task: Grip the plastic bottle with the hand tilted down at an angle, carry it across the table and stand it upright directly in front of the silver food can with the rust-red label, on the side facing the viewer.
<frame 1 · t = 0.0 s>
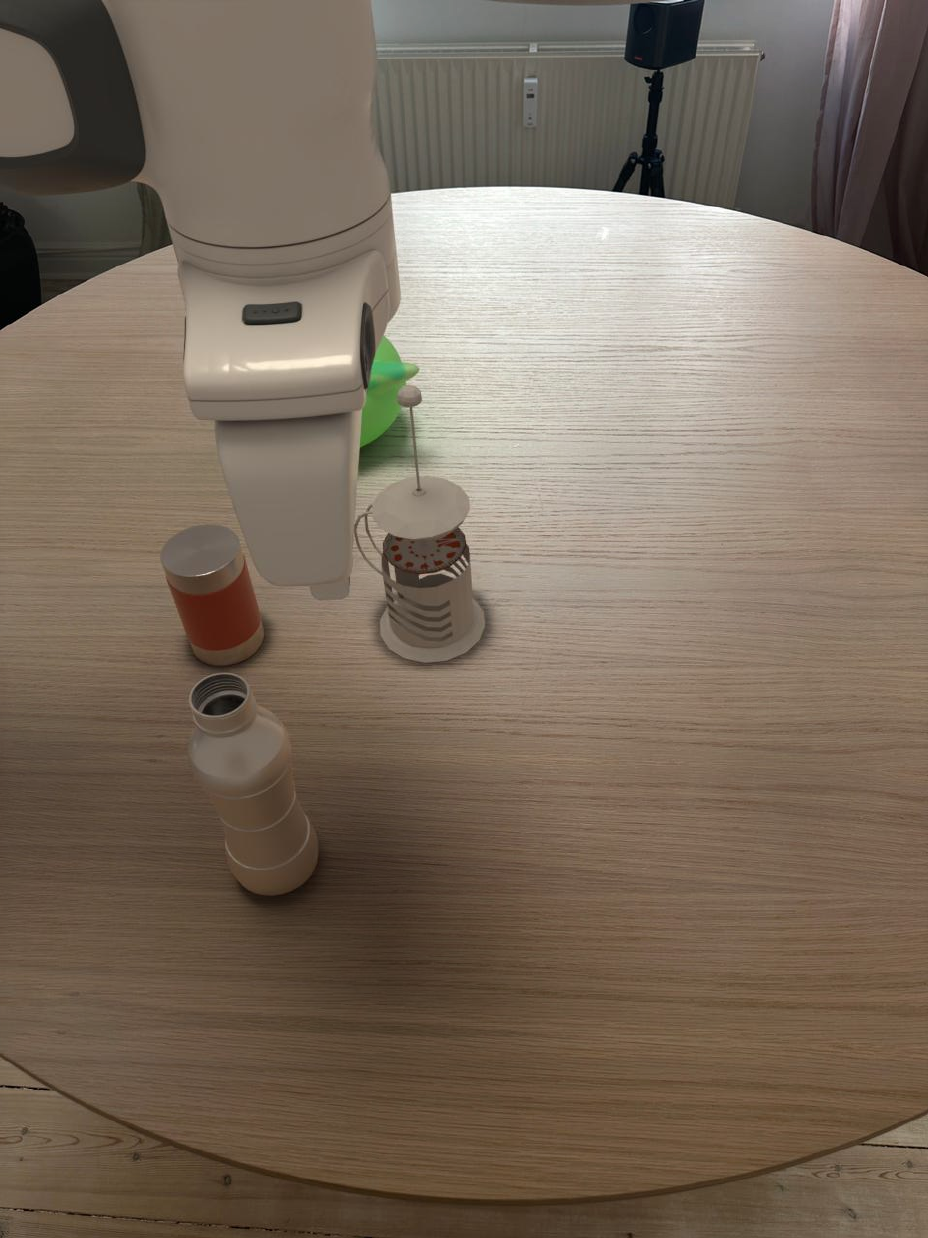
hand: (337, 526, 50), 32 cm above the table, tool pointing down, fingers open, 8 cm apart
toy bird: (334, 444, 111), on the table
plastic bottle: (279, 869, 73), on the table
food can: (228, 639, 90), on the table
french press: (424, 621, 91), on the table
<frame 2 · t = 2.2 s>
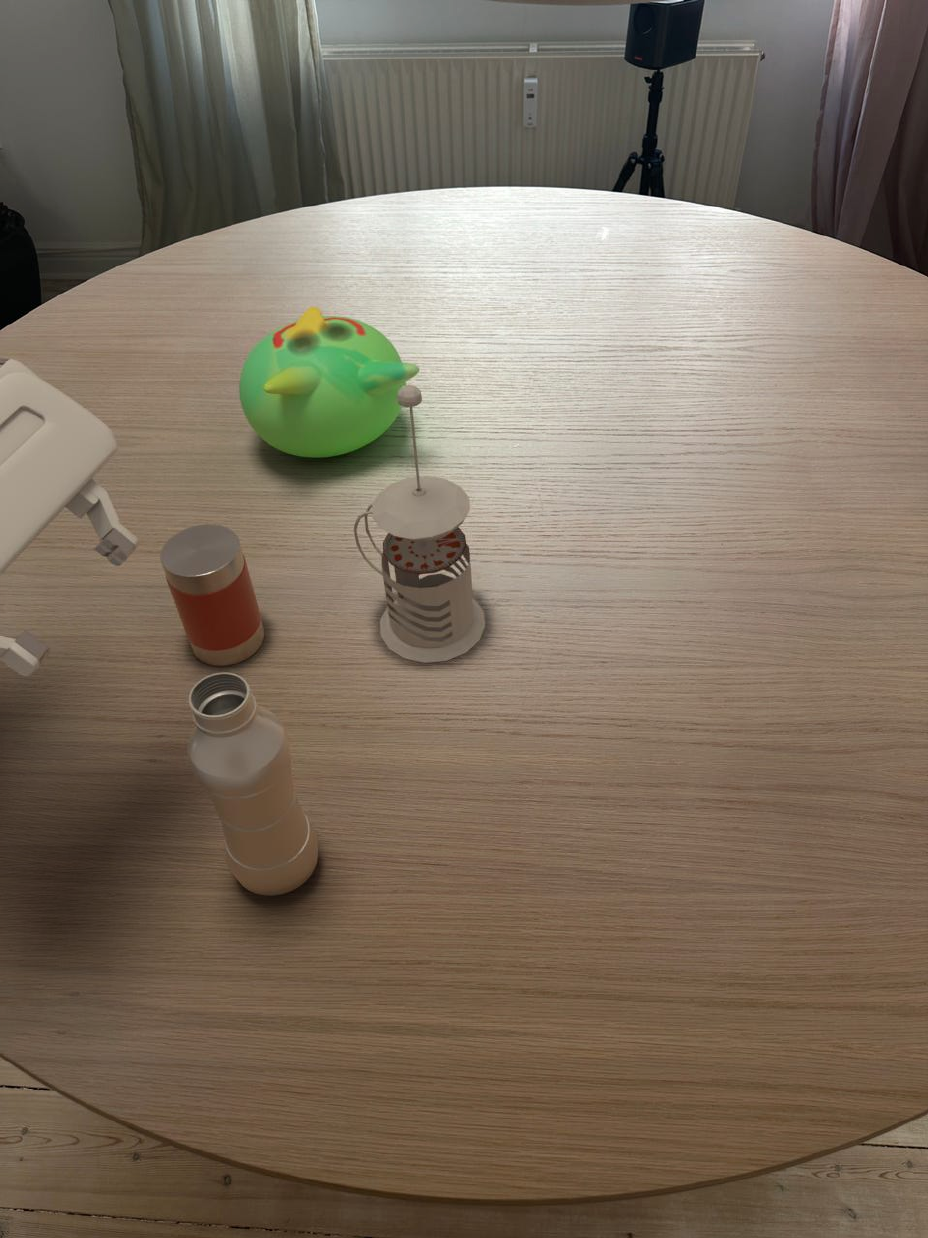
hand: (86, 606, 58), 25 cm above the table, tool tilted 45°, fingers open, 8 cm apart
nothing on the table moved.
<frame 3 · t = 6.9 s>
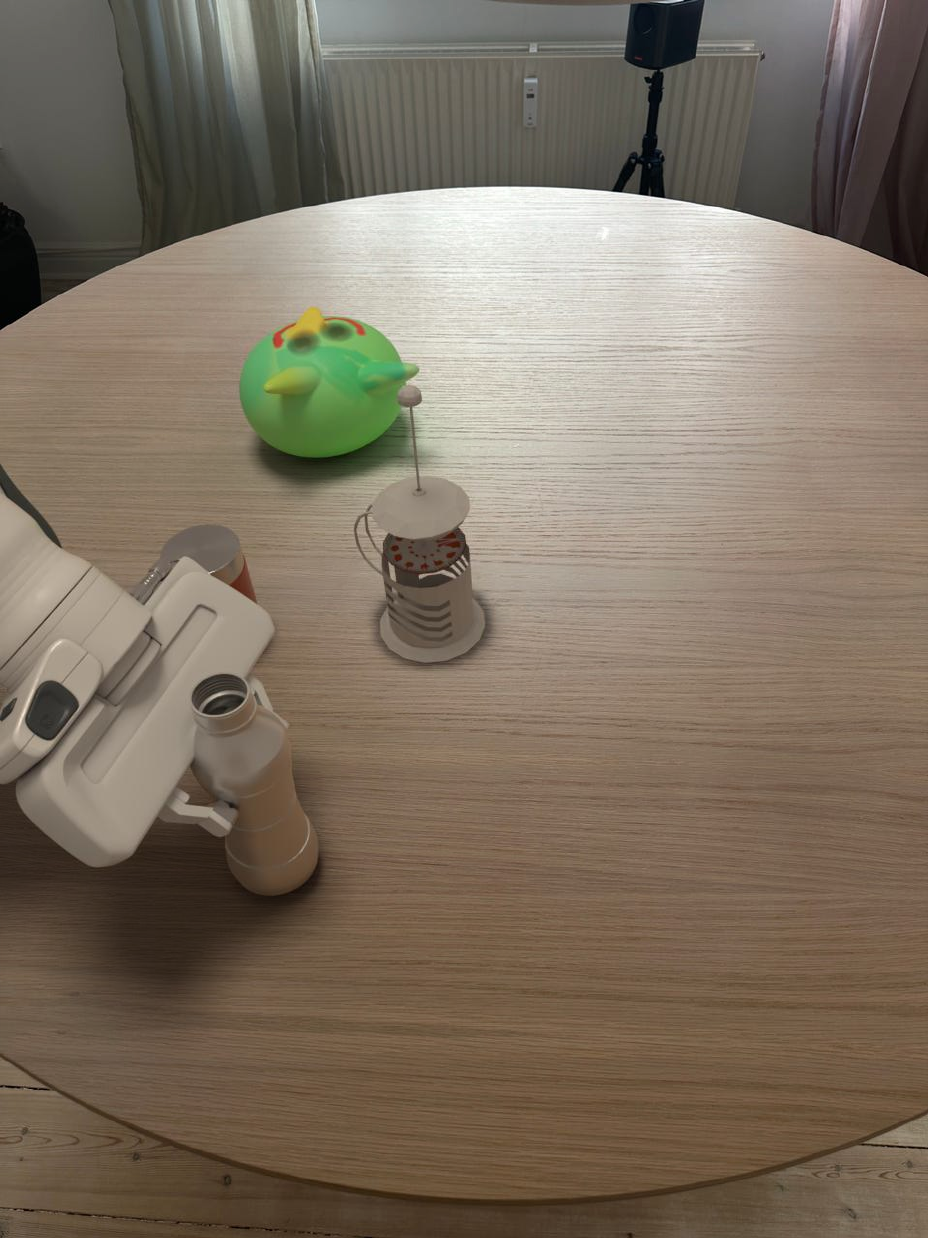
hand: (256, 781, 65), 11 cm above the table, tool tilted 45°, fingers closed on plastic bottle, 6 cm apart
plastic bottle: (279, 869, 73), on the table, touching gripper
everything else where it was.
when the fingers open (11 cm above the table, at t = 15.9 s): plastic bottle stays where it is, on the table.
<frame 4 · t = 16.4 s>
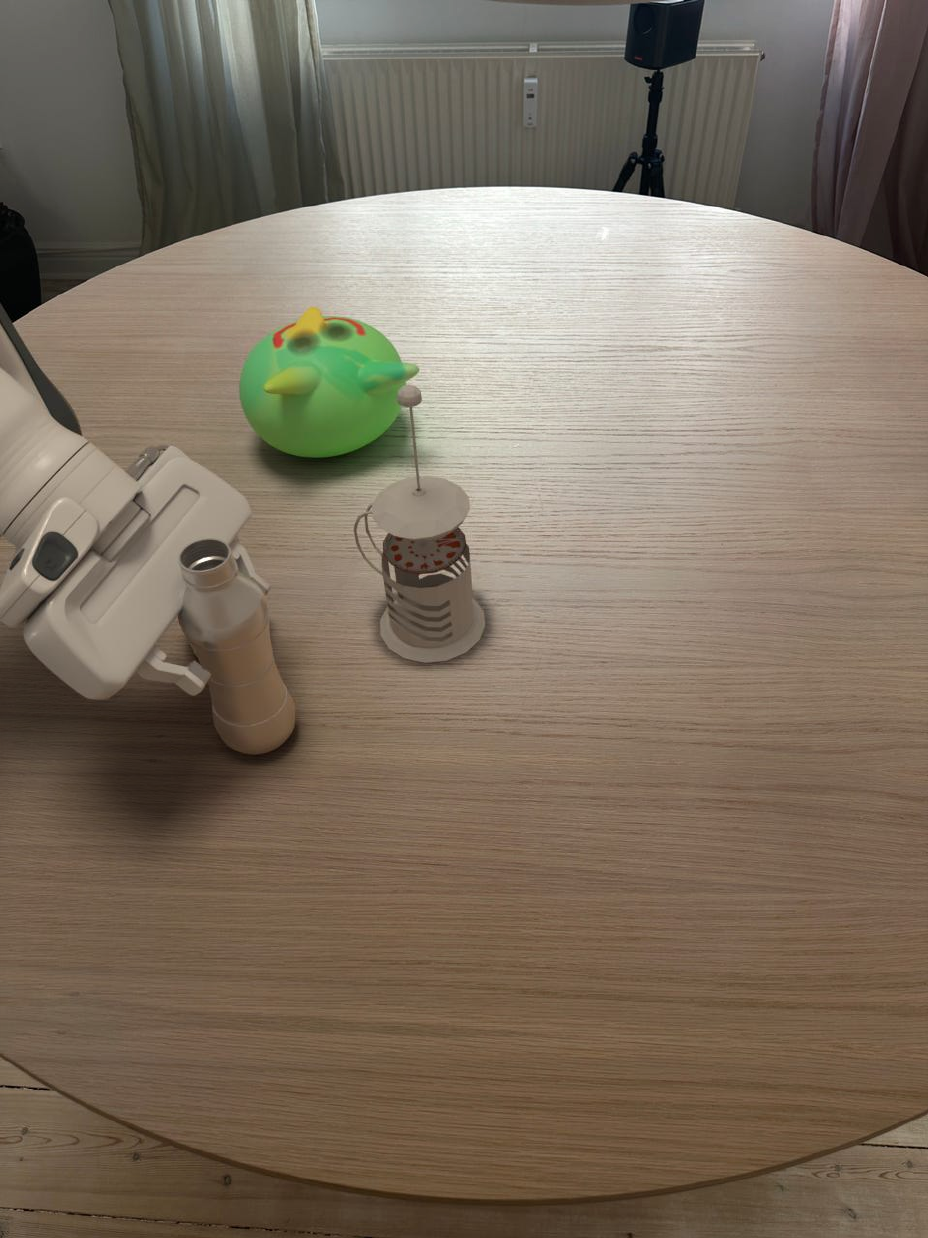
hand: (234, 640, 74), 12 cm above the table, tool tilted 45°, fingers open, 8 cm apart
plastic bottle: (261, 735, 82), on the table
everything else where it was.
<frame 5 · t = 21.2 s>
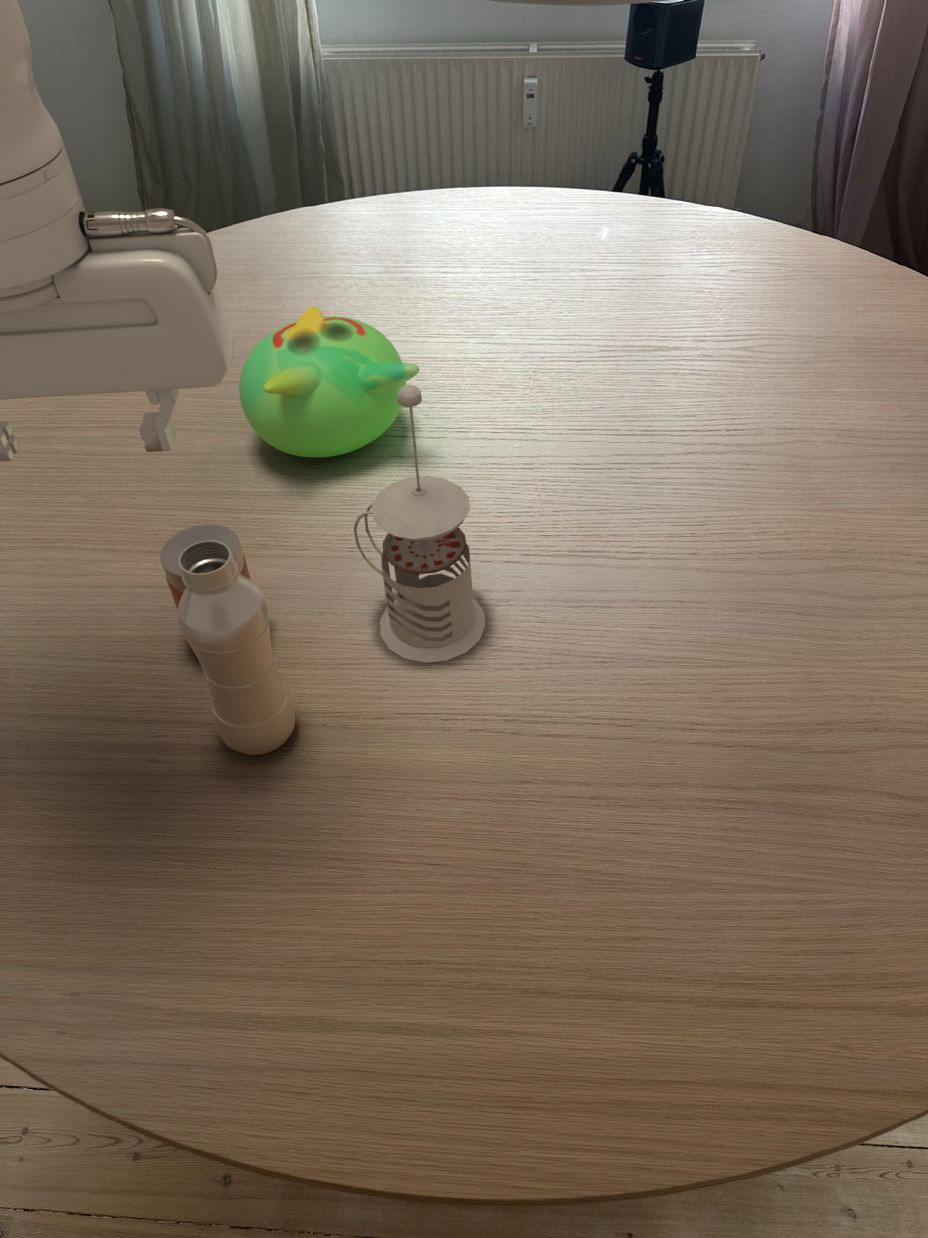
hand: (83, 450, 58), 31 cm above the table, tool pointing down, fingers open, 8 cm apart
nothing on the table moved.
at the end: plastic bottle inside the target area on the table beside the food can (0.3 cm from its centre), on the table; plastic bottle tilted 1°; the gripper is holding nothing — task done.
